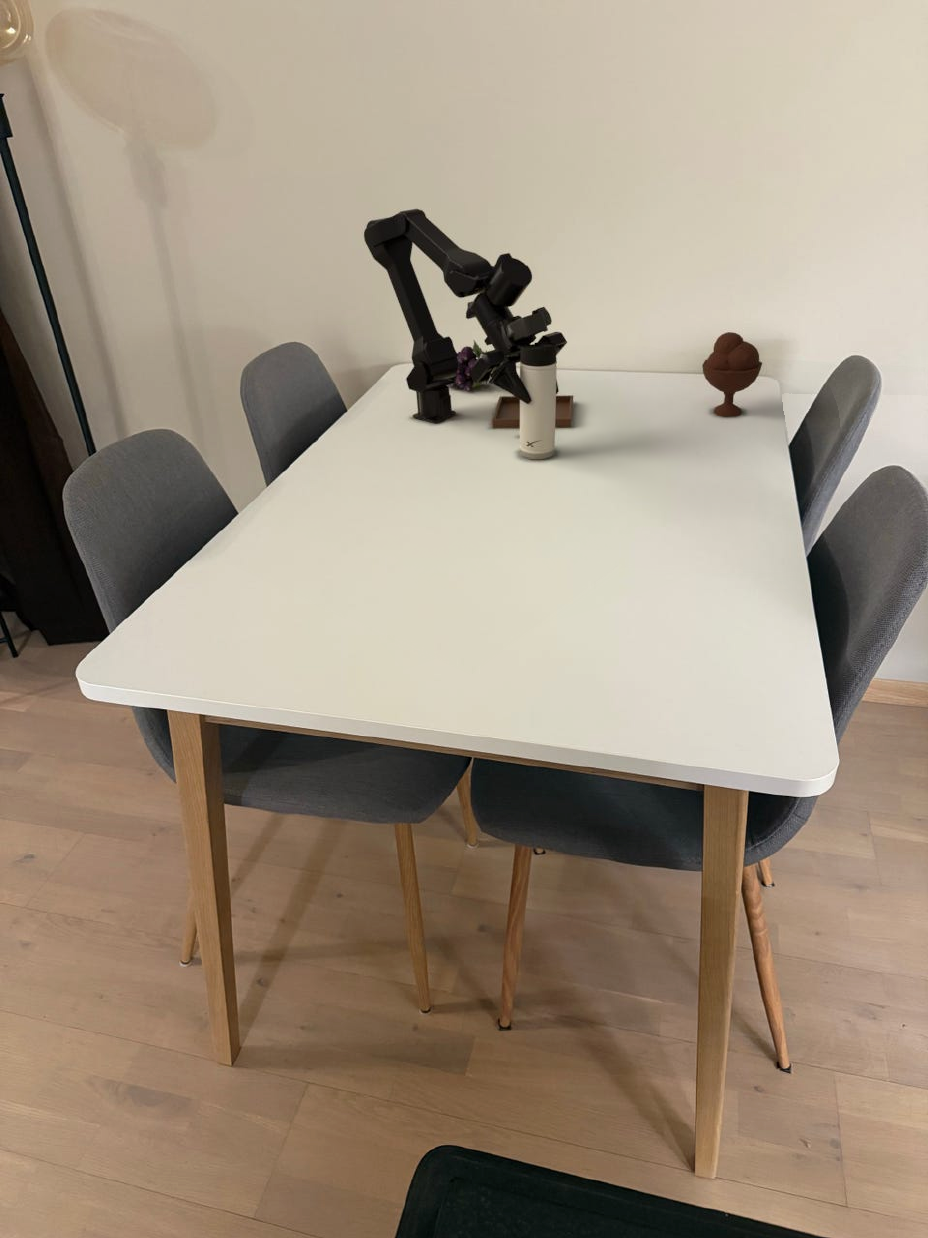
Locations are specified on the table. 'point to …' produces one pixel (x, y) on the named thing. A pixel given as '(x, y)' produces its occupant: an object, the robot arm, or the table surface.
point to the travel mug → (538, 400)
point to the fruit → (467, 367)
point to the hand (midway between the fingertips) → (543, 397)
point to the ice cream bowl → (731, 370)
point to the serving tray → (510, 412)
